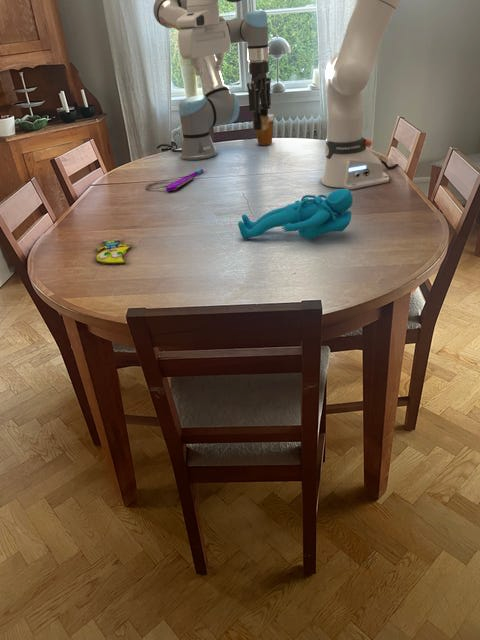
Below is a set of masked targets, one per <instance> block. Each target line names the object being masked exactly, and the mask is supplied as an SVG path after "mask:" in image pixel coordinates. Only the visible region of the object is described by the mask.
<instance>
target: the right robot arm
mask: <svg viewBox="0 0 480 640" xmlns="http://www.w3.org/2000/svg"><path fill="white" fill-rule="evenodd" d="M225 1H226V2H229V3H239V2H241V1H242V0H225ZM400 1H401V0H356V3H355V5H354V8H353V11H352V13H351V15H350V17H349V20H348V22H347V25H346V29H345V34H344V35H343V40H342V42H341V46H340V48H339V52H337V53H335V54H333V56H332V57H331V58H330V59H329V61H328V62H327V65H326V68H325V69H326V70H325V86H326V89H325V91H326V108H327V109H326V111H327V123H326V124H327V126H326V127H327V129H326V130H327V132H326V139H325V145H324V154H325V155H324V156H325V164H324V168H323V169H324V170H323V175H322V178H321V183H322V185H324V186H327V187H330V188H337V189H348V190H356V189H361V188H366V187H371V186H376V185H380V184H385V183H389V182H390V176H389V175H388V174H387V173H386V172H385V171H384V168H383V165H384V167H385V168H386V169H387V170H393V169H395V168H397V167H399V164H398V163H396V164H394V165H391V166H390V165H388V164H387V162H386V161H384V160H382V158H380V157H377V156H376V155H375V154H373V152H371V151H370V150H368V148H370V147H371V146H373V141H372V140H371V139H368V138H367V139H366V138H364V137H362V134H363V117H364V110H363V109H364V108H363V100H362V99H363V96H362V91H363V90H364V89H365V88H366V86H368V83H369V80H370V77H371V76H370V75H371V73H372V71H373V68H374V65H375V62H376V60H377V56H378V53H379V51H380V47H381V43H382V41H383V39H384V36H385V34H386V32H387V30H388V27H389V25H390V23H391V21H392V19H393V17H394V14H395V12H396V10H397V8H398V6H399V4H400ZM222 20H223V21H222ZM225 20H226V19H225V18H224V17H223V16H220V8H219V0H187V12H186V13H185V14H184V15H182V16H181V17H180V18H178V19H177V21H176V23H177V27H178V28H181V29H180V30H178V32H177V33H178V34H177V38H178V48H179V54H180V56H181V58H182V60H190V63H191V65H192V67H193V69H194V74H195V76H197V77H200V75H203V68H201V67H200V64H199V62H200V57H204V56H209V55H215V58H216V64H215V65H214V67H215V71H220V72H221V71H222V70H223V61H224V58H225V57H224V56H225V55H224V53H225V54H226V53H229V52H231V48H232V43H231V42H230V35H229V30H228V26H227V25H226V21H225Z"/></svg>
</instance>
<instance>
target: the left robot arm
mask: <svg viewBox="0 0 480 640" xmlns="http://www.w3.org/2000/svg"><path fill="white" fill-rule="evenodd" d="M186 12H187V0H155V1H154V4H153V15H154V18H155V20H156V22H157V23H158V24H159V25H160V26H162V27H164V28H166V29H173V28H174V29H175V30H177V31H179V30H180V29H181V28H178V27H177V23H176V21H177V19H178V18H180V17H181V16H182V15H184V14H185V13H186ZM224 20H225V21H226V25H227V26H228V30H229V35H230V42H231V44H239V43H246V47H247V61H248V63H247V66H248V67H247V68H248V69H247V70H248V74H250V75H251V78H250V82H247V83H246V86H247V93H248V94H247V95H248V109H249V111H250V112H251V113H252V114H253V116H252V117H254V130H253V131H256V130H261V116H268V114H269V111H268V110H270V109H271V105H272V103H271V102H272V99H271V95H272V94H271V82H272V78H271V77H268V75H267V74H268V73H269V72H270V64H269V63H270V62H269V61H268V60H269V59H270V58H269V57H270V56H269V30H268V28H269V27H268V26H269V23H268V14H267V12H266V11H265V10H256V11H255V10H253V11H247V12H246V13H245V18H244V17H243V18H242V17H241V18H240V17H237V18H236V17H235V18H232V19H224ZM222 21H223V20H222ZM199 64H200V67H201V68H203V75H200V76H199V77H200V80H201V84H202V87H203V90H204V93H203V94H199V95H197V94H196V95H193V96H189V97H186V98H183V99H182V100H181V101H180V102H179V103H178V111H179V113H178V114H179V119H180V125H181V132H182V144H181V149H177V148H176V146H175V145H172V144H167V143H161V144H159V145H157V147H156V150H157V149H160V148H162V147H169V148H171V152H172V153H180V158H181V159H182V160H185V161H201V160H202V161H203V160H208V159H210V158H213V157H215V156H216V155H217V148H216V147H215V145H214V141H213V140H212V137H211V133H210V129H211V128H214V127H220V126H226V125H227V126H228V125H229V124H232V123H235V122H236V121H237V120H238V118H239V115H240V111H241V108H240V107H241V106H240V105H241V104H240V100H239V98H238V95H236V94H235V93H233V92H231V90H230V88H229V86H228V85H226V84H224V80H223V77H222V73H221V71H215V67H214V65H215V64H216V57H215V55H209V56H204V57H200V62H199ZM260 104H261V108H260Z"/></svg>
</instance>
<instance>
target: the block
mask: <svg viewBox="0 0 480 640" xmlns="http://www.w3.org/2000/svg"><path fill="white" fill-rule="evenodd" d="M268 128H269V116H261V130H262V131H264V130H266V129H268ZM252 131H255V130H254V116H252Z"/></svg>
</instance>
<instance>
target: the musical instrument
mask: <svg viewBox="0 0 480 640" xmlns="http://www.w3.org/2000/svg"><path fill="white" fill-rule="evenodd" d="M204 172H205V170H204V168H201V169H198V170H196V171H195V170H194V172H191V173H190V174H188V175H184V176H179V177H174V178H169V179H164V180H159V181H156V182H153V183H150V184H146V185H145V188H146V189H152V190H153V189H154V190H155V189H157V190H158V189H162V188H166V191H167V192H171V191H177V190H178V189H179V187H182V186H183V185H184V184H186V183H188V182H189V181H191V180H193V179H195V176H197V175H199V174H202V173H204ZM175 179H176V180H175ZM171 180H175V181H173V182H170V183H168V184H166V185H164V186H160V187H151V186H152V185H154V184H158V183H162V182H165V181H166V182H167V181H171Z"/></svg>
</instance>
